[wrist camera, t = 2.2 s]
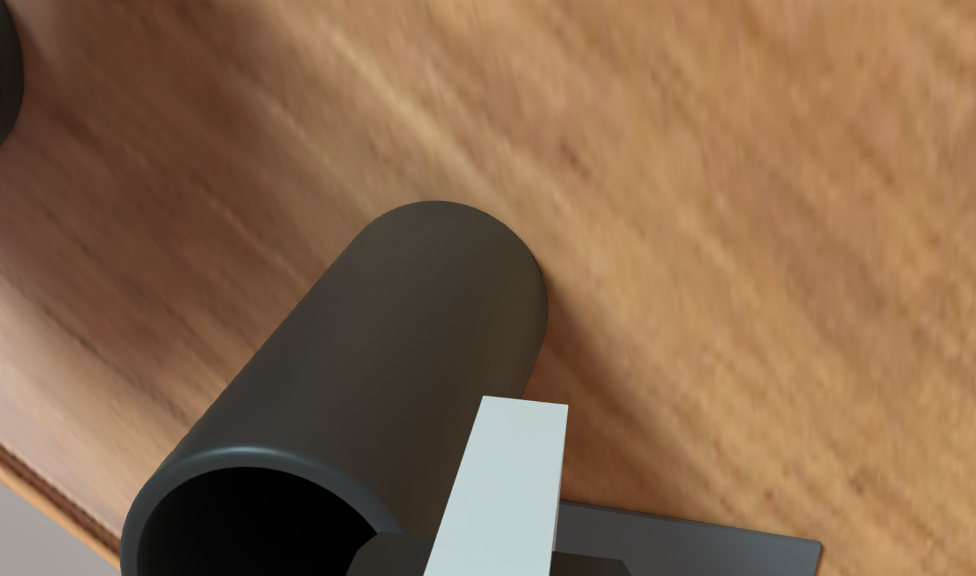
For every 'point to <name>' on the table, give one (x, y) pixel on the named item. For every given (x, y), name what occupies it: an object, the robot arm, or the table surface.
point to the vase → (350, 405)
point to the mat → (679, 544)
